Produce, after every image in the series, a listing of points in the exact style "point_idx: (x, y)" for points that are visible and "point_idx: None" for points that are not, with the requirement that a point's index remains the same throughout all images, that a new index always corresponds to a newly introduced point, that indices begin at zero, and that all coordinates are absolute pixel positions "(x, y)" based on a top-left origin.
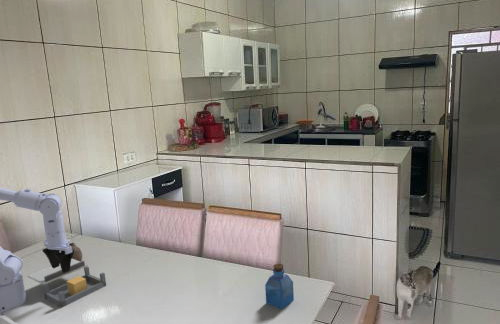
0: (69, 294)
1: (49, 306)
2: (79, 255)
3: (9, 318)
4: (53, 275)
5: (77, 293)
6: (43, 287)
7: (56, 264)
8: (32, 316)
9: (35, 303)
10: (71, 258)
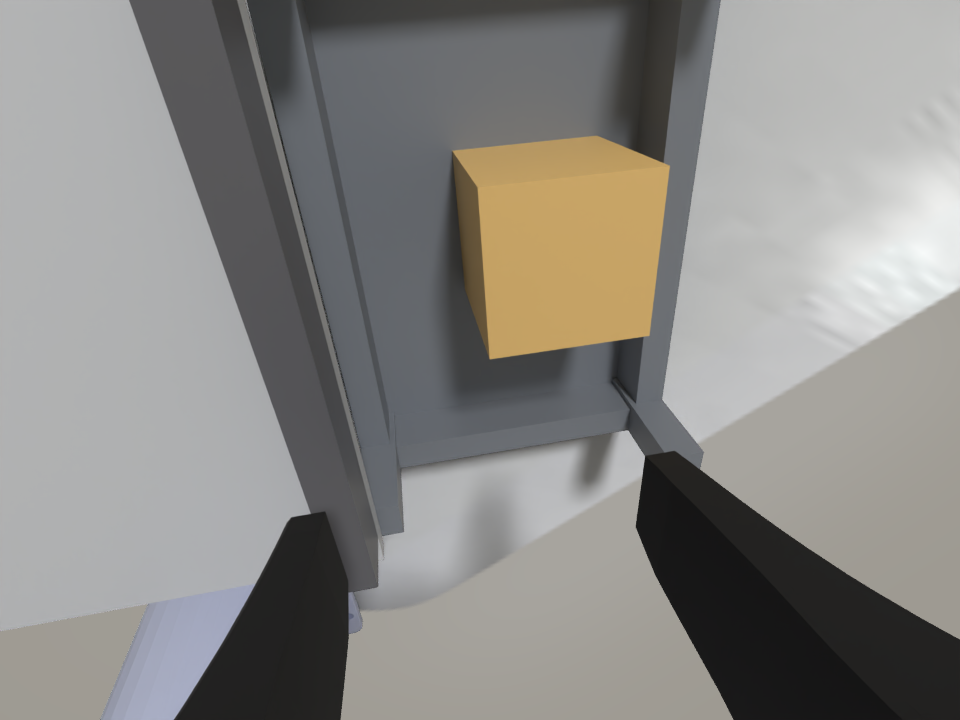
0: None
1: None
2: None
3: (424, 597)
4: (360, 506)
5: (659, 287)
6: None
7: (332, 588)
8: (522, 521)
9: None
10: (939, 630)
